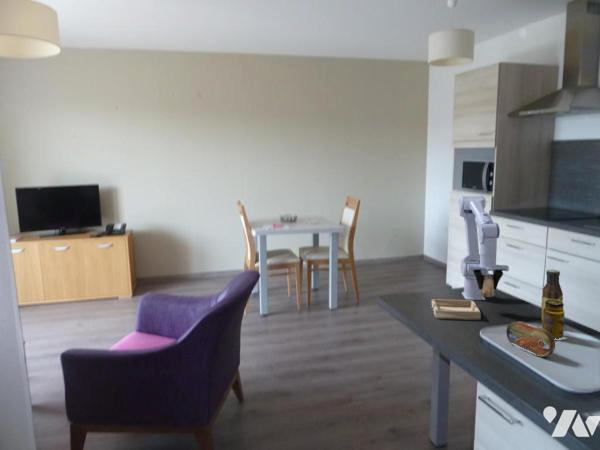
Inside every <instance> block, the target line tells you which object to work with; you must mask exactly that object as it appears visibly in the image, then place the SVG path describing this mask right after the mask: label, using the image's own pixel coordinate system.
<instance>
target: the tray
mask: <svg viewBox="0 0 600 450" xmlns="http://www.w3.org/2000/svg"><path fill="white" fill-rule="evenodd" d="M430 303H431V305H432V306H431V309H432V308H433V309H432V312H433V311H434V312H433V315H434V317H435V319H436V318H437V320H439V319H440V320H466V321H468V320H469V321H481V317H482V316H481V314H482V313H481V310H480V309H479V308H478V306H477V304H476V303H475V300H466V299H443V298H442V299H441V298H439V299H436V298H433V299H431V302H430Z"/></svg>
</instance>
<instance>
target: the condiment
mask: <svg viewBox="0 0 600 450" xmlns="http://www.w3.org/2000/svg"><path fill="white" fill-rule="evenodd" d="M564 305H565V304H564V303H562V302H560V301H557V300H547V301H546V302H545V308H544V310H543V324H542V326H541V327H542V329H545V330H547V331H548V332H549V333H550V334H551V335H552V336H553V338H554V339H555V338H556V339H559V338H562V337H563V336H564V330H565V329H564V328H565V327H564V326H565V309H564Z"/></svg>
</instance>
